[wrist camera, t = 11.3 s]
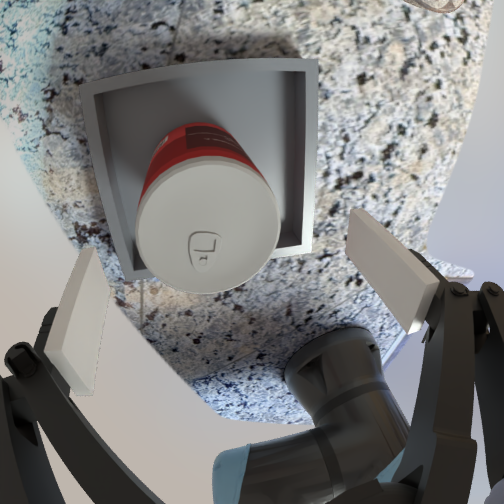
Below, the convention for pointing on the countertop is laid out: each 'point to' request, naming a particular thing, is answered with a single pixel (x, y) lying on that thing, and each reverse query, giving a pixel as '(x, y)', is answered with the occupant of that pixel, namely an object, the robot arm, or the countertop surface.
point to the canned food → (205, 212)
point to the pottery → (437, 5)
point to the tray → (214, 112)
